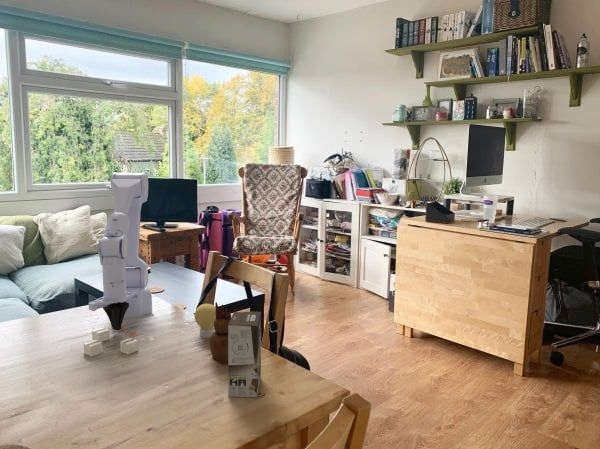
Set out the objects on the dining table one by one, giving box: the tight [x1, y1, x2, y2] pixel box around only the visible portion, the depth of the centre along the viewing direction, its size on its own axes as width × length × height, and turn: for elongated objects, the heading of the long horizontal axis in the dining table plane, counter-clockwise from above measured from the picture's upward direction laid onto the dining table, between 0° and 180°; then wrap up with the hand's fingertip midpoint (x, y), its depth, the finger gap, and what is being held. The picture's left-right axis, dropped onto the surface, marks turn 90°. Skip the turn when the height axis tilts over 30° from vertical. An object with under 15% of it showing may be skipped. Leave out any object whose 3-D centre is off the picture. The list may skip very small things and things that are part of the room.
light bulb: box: [194, 303, 216, 339], centre depth 136 cm, size 6×6×10 cm
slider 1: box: [91, 327, 110, 343], centre depth 132 cm, size 3×3×3 cm
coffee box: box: [227, 311, 262, 399], centre depth 109 cm, size 9×6×16 cm
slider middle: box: [83, 340, 103, 357], centre depth 124 cm, size 3×3×3 cm
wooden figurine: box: [209, 301, 232, 364], centre depth 122 cm, size 7×6×15 cm
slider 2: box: [119, 337, 139, 355], centre depth 125 cm, size 3×3×3 cm
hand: (116, 329), depth 136 cm, fingers closed
